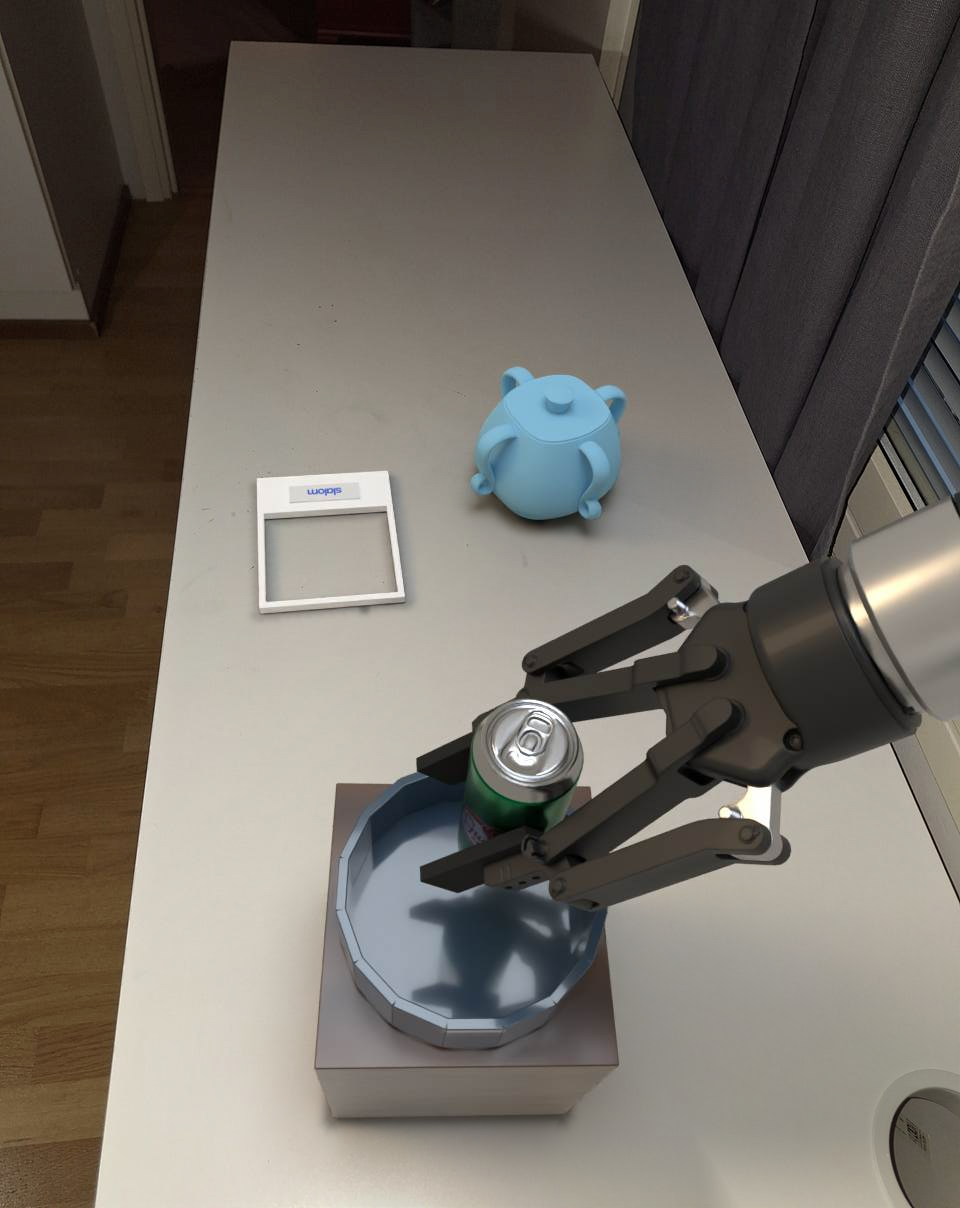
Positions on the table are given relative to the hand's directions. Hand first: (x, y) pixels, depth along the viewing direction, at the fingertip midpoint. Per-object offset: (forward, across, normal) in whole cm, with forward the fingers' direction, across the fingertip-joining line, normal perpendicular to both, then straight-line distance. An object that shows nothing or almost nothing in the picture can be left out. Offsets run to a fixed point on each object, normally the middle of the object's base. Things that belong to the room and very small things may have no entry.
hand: (437, 823), depth 46 cm
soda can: (0, 0, -5) cm, 5 cm away
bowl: (+7, -1, -10) cm, 12 cm away
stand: (+21, -1, -24) cm, 32 cm away
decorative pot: (+11, +55, -34) cm, 65 cm away
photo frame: (+28, +46, -16) cm, 56 cm away
